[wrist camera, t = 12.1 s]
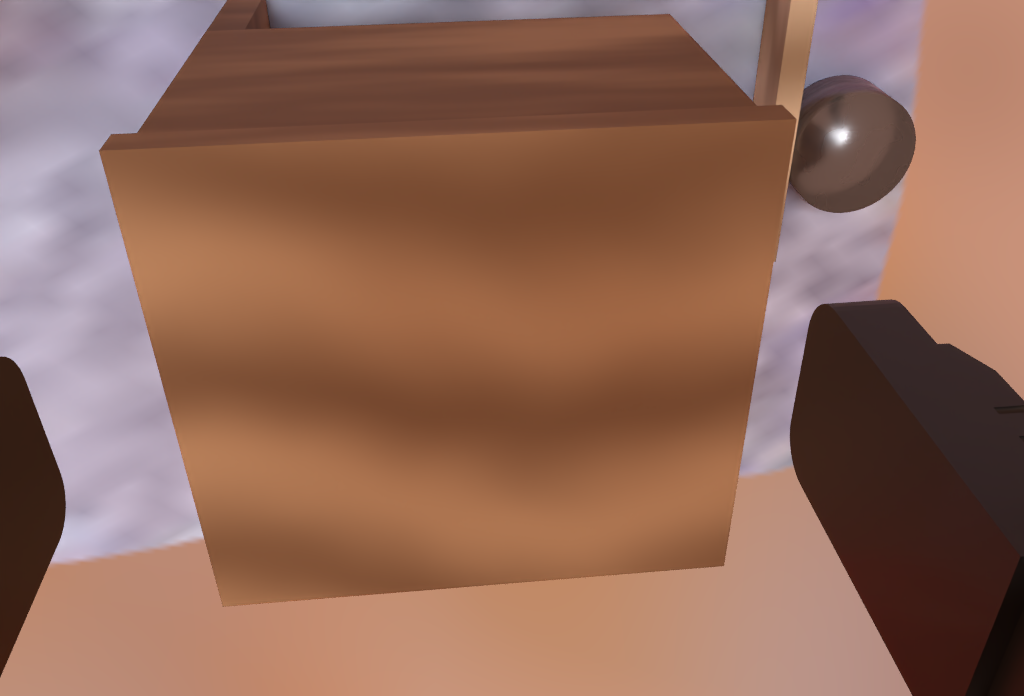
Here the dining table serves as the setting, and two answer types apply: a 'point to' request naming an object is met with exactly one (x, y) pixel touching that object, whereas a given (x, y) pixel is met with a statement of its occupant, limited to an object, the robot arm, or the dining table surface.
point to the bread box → (453, 296)
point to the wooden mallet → (784, 60)
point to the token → (849, 144)
